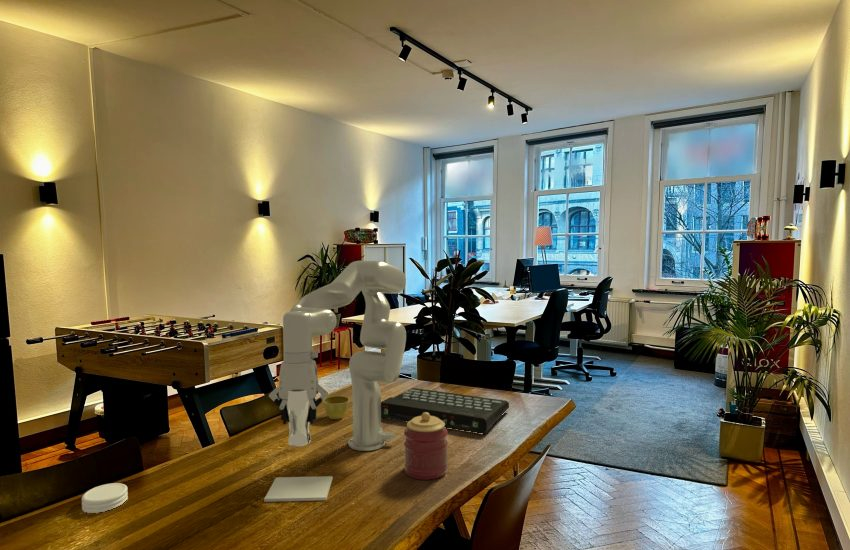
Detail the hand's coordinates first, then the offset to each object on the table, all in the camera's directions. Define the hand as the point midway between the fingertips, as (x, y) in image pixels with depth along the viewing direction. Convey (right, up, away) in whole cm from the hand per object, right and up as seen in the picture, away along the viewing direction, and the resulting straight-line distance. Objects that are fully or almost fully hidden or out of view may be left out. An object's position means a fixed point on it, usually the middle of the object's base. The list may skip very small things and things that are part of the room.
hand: (299, 421), depth 133 cm
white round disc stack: (-49, -20, -6) cm, 53 cm away
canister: (+35, -19, +12) cm, 41 cm away
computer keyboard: (+42, -17, +62) cm, 77 cm away
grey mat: (0, -19, +1) cm, 19 cm away
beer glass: (0, -6, 0) cm, 6 cm away
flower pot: (-1, -16, +59) cm, 61 cm away
